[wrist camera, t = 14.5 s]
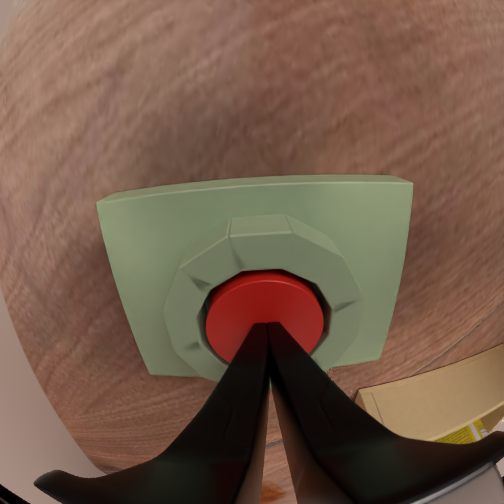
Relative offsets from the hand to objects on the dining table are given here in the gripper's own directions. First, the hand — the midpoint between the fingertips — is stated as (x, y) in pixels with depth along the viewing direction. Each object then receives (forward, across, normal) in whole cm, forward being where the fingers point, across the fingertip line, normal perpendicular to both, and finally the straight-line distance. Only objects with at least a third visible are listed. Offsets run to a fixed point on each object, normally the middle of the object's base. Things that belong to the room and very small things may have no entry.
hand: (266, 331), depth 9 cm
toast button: (+2, 0, 0) cm, 2 cm away
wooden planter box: (+4, -14, +14) cm, 20 cm away
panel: (+4, 0, 0) cm, 4 cm away
